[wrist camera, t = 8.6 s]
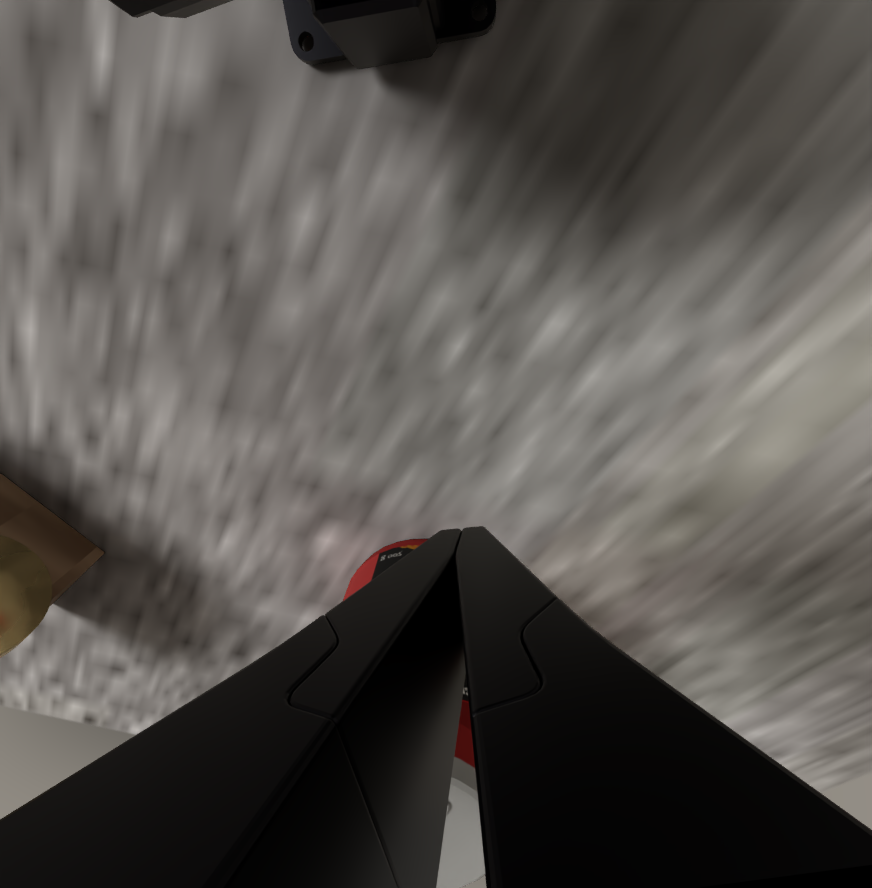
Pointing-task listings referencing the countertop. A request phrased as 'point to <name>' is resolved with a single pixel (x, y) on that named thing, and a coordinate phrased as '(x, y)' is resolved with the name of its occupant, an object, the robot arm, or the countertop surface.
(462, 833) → the canned food
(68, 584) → the mount
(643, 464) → the countertop surface
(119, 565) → the countertop surface
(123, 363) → the countertop surface
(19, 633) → the knob
